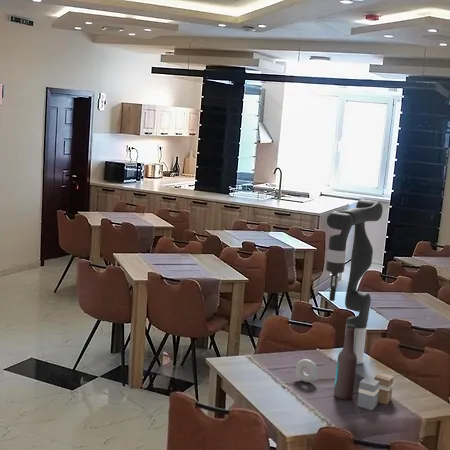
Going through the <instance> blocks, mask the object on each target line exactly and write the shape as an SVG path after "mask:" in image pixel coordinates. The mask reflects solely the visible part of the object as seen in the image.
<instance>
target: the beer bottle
mask: <svg viewBox="0 0 450 450" xmlns="http://www.w3.org/2000/svg"><path fill="white" fill-rule="evenodd" d="M354 331H355V325H352V324H347V326H346V325H345V332H346V334H345V333H344V341H343V345H342V346H343V347H342V349H341V351H340V352H339V353H338V356H337V360H336V361H337V362H336V369H335V380H334V390H333V393H334V394H333V395H334V397H335V398H336V399H338V400H343V401H348V400H351V399H353V398H354V397H353V396H354V389H355V380H356V372H357V364H356V363H357V356H356V354H355V352H354Z"/></svg>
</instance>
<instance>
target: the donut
mask: <svg viewBox="0 0 450 450" xmlns="http://www.w3.org/2000/svg"><path fill="white" fill-rule="evenodd" d="M304 368H308V370H309V374H308V373H306V372H305V370H304ZM295 373H296V376H297V378H298V379H299V380H300V381H302V382H304V383H313V382H314V381H316V379H317V377H318V375H319V370H318V367H317V365H316V363H315V362H313V360H310V359H309V358H308V359H307V358H303V359H301V360H298V362H297V364H296V366H295Z"/></svg>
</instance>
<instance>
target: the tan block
mask: <svg viewBox="0 0 450 450" xmlns="http://www.w3.org/2000/svg"><path fill="white" fill-rule="evenodd" d="M394 376H395V375H390V374H386V373H382V372H378V373H377V374H376V375H375V376H374V379H373V380H377V381H380V383H379V392H378V400H377V403H379V404H384V405H388V404H389V403H390V402H391V401H392V396H393V387H394V378H395V377H394Z"/></svg>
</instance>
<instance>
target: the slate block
mask: <svg viewBox="0 0 450 450" xmlns="http://www.w3.org/2000/svg"><path fill="white" fill-rule="evenodd" d="M379 383H380V381H377V380H374V379H373V378H369V377H364V378H362V380H359V386H358V395H357V396H358V397H357V405H356V406H357V407H360V408H363V409H367V410H369V411H373V410H374V409H375V408H376V407H377V405H378V402H377V400H378V392H379Z"/></svg>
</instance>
